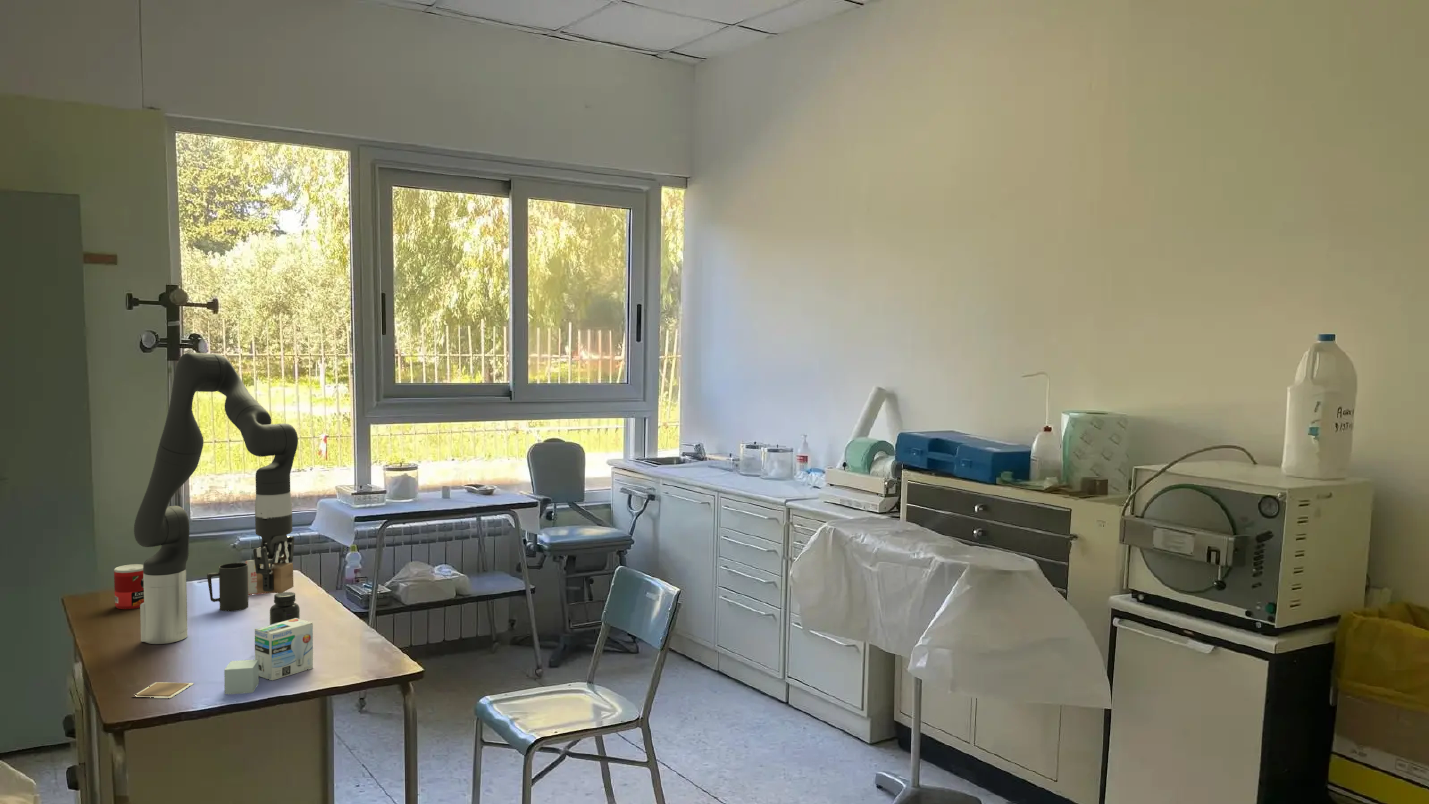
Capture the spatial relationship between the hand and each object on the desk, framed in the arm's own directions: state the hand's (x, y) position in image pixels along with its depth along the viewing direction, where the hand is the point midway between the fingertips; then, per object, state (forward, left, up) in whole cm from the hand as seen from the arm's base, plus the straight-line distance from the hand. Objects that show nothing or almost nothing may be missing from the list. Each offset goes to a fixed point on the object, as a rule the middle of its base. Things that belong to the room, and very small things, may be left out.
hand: (275, 587), depth 210 cm
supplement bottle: (-9, +22, -20) cm, 31 cm away
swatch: (-19, -12, -20) cm, 30 cm away
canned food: (-66, +50, -20) cm, 85 cm away
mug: (-38, +49, -20) cm, 65 cm away
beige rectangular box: (-38, +66, -20) cm, 79 cm away
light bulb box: (+1, +1, -20) cm, 20 cm away
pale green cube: (-3, -10, -20) cm, 22 cm away
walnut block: (0, 0, -1) cm, 1 cm away
